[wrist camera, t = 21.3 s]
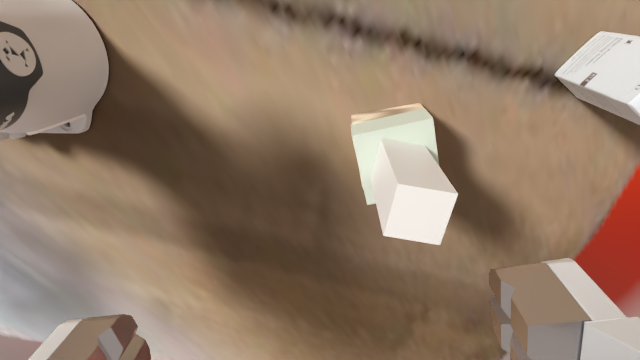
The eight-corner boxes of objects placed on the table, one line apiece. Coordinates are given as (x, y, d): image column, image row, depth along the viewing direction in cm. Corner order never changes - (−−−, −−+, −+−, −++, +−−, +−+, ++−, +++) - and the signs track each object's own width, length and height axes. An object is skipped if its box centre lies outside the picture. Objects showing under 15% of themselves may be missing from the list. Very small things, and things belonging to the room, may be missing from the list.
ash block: (360, 174, 48) (362, 188, 44) (351, 114, 44) (352, 123, 41) (424, 165, 47) (431, 178, 43) (419, 102, 44) (426, 110, 40)
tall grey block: (412, 185, 39) (439, 245, 29) (370, 178, 39) (383, 235, 29) (424, 145, 37) (458, 193, 27) (380, 137, 37) (397, 183, 27)
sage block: (365, 188, 44) (367, 205, 40) (350, 124, 41) (351, 135, 37) (433, 175, 43) (442, 190, 39) (424, 108, 40) (433, 118, 36)
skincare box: (598, 28, 39) (699, 37, 28) (625, 56, 40) (733, 74, 29) (549, 76, 41) (625, 101, 30) (576, 101, 42) (658, 134, 31)
